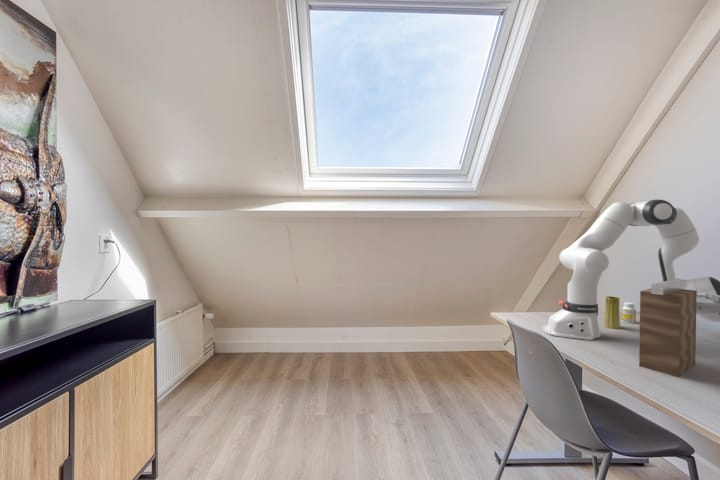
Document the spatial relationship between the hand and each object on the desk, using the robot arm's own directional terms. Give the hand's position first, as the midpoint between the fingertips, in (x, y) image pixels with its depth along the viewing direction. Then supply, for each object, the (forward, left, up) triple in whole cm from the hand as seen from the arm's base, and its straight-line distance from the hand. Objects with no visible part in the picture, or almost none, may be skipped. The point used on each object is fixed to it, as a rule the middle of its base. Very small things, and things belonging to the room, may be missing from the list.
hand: (690, 294), depth 125 cm
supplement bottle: (-2, +39, -22) cm, 45 cm away
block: (-17, -18, +4) cm, 25 cm away
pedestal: (-18, -19, -22) cm, 34 cm away
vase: (-14, +28, -22) cm, 38 cm away
